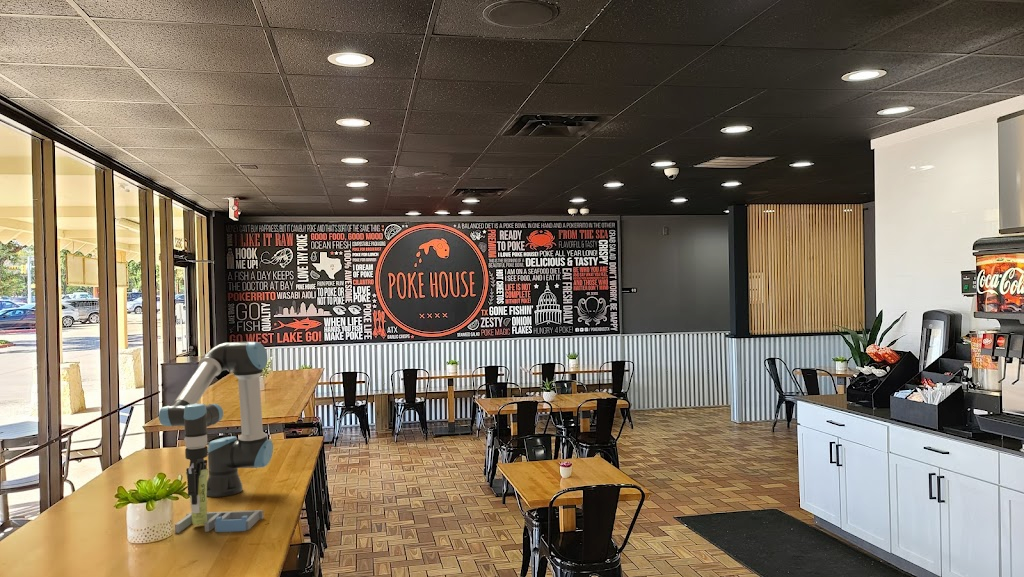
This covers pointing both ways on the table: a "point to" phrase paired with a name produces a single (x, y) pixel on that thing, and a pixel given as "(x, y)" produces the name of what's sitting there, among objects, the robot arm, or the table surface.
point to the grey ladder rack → (224, 521)
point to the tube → (201, 499)
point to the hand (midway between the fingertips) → (198, 510)
